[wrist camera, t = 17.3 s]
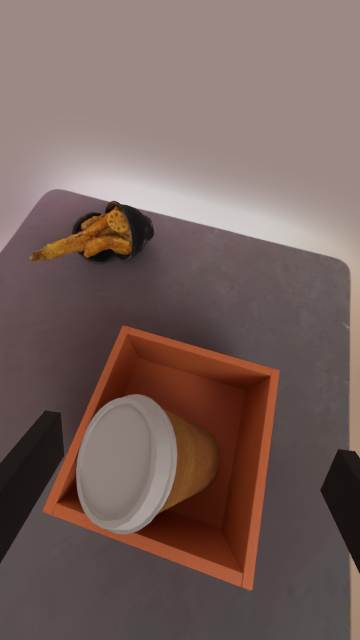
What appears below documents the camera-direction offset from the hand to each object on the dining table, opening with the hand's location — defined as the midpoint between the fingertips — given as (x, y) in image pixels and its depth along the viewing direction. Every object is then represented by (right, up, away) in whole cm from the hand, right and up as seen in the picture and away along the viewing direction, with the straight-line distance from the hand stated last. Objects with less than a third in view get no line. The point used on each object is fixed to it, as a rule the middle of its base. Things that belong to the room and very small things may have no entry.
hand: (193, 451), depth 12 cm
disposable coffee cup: (+1, -9, +16) cm, 18 cm away
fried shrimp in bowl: (-14, +18, +30) cm, 38 cm away
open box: (-1, -8, +19) cm, 20 cm away
